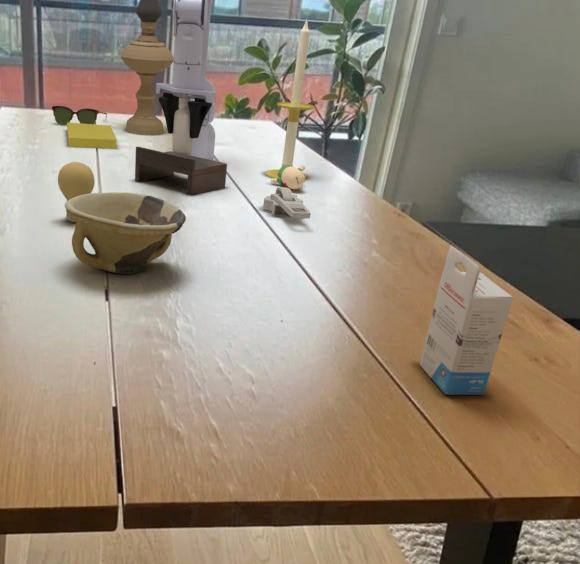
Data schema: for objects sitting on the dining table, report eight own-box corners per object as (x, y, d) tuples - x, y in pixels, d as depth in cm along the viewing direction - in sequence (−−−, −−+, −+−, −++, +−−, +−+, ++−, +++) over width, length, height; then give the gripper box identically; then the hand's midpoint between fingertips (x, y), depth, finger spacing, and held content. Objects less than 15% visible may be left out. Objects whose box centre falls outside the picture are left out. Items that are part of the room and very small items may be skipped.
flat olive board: (116, 148, 199) (110, 132, 219) (116, 139, 198) (110, 124, 217) (69, 146, 197) (67, 130, 217) (69, 137, 196) (66, 122, 216)
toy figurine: (270, 190, 179) (283, 199, 168) (264, 171, 176) (277, 179, 166) (303, 175, 178) (318, 183, 168) (297, 156, 176) (312, 163, 165)
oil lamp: (117, 125, 229) (120, -35, 207) (167, 128, 231) (175, -31, 209) (120, 134, 216) (123, -36, 194) (172, 137, 218) (181, -31, 196)
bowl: (93, 294, 108) (93, 225, 103) (49, 255, 121) (47, 192, 116) (202, 281, 115) (207, 216, 110) (150, 247, 128) (152, 187, 123)
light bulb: (100, 220, 140) (101, 162, 135) (82, 227, 135) (82, 167, 130) (70, 214, 142) (69, 157, 137) (52, 221, 137) (50, 162, 132)
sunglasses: (50, 123, 224) (50, 105, 222) (65, 121, 237) (65, 103, 235) (98, 128, 223) (99, 109, 220) (110, 125, 236) (111, 107, 233)
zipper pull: (279, 229, 142) (282, 205, 140) (258, 205, 157) (261, 183, 155) (320, 230, 143) (323, 207, 141) (296, 206, 158) (299, 184, 156)
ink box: (485, 396, 88) (525, 269, 79) (443, 396, 87) (479, 268, 79) (456, 365, 95) (490, 245, 87) (417, 364, 94) (448, 243, 86)
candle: (259, 176, 181) (278, 16, 163) (271, 169, 189) (290, 15, 171) (300, 182, 178) (324, 20, 160) (311, 174, 186) (334, 19, 168)
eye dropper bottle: (192, 150, 167) (196, 89, 161) (191, 155, 163) (195, 93, 156) (172, 149, 168) (175, 88, 161) (170, 154, 163) (174, 91, 156)
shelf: (169, 174, 177) (171, 141, 173) (225, 187, 169) (228, 153, 165) (134, 180, 169) (135, 146, 165) (190, 195, 161) (193, 159, 157)
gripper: (147, 59, 157) (145, 131, 164) (203, 68, 150) (197, 142, 157) (169, 59, 162) (166, 128, 169) (224, 67, 154) (218, 139, 162)
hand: (182, 135), depth 163 cm, fingers closed on eye dropper bottle, 5 cm apart
